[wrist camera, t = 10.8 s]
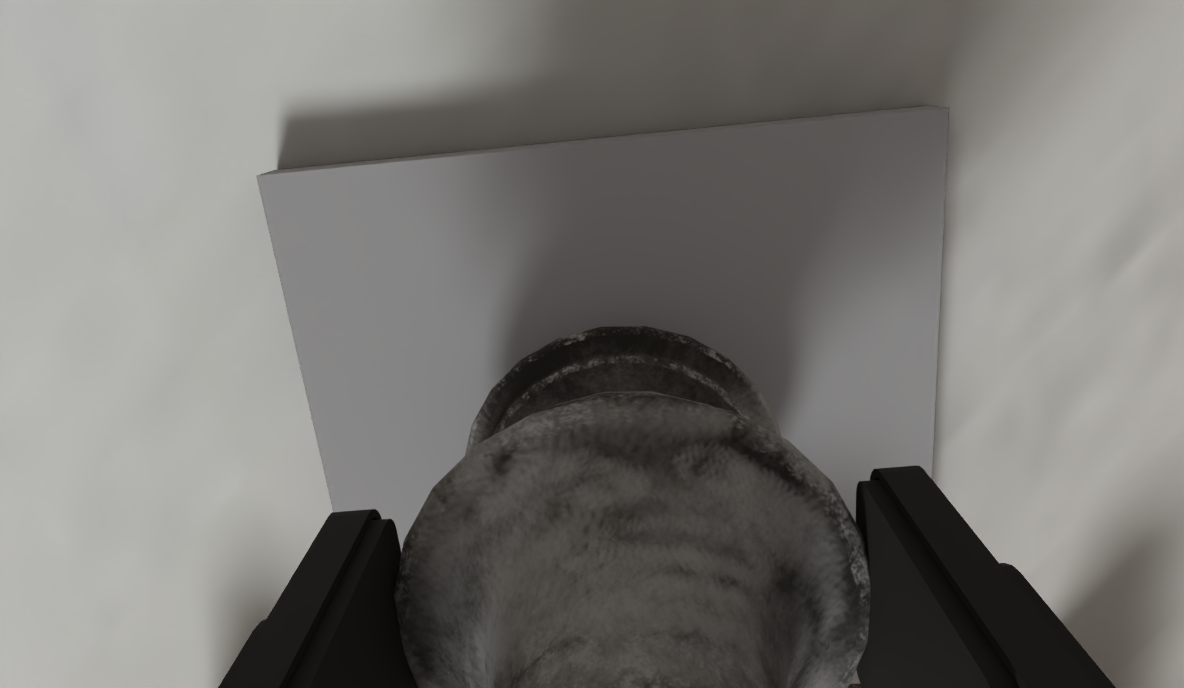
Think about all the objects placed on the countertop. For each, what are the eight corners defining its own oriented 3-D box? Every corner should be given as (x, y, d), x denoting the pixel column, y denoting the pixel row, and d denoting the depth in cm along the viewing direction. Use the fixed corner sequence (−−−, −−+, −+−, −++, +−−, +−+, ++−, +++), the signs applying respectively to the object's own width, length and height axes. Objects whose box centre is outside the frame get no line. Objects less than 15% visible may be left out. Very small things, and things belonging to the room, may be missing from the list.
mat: (275, 169, 14) (256, 175, 13) (929, 105, 13) (949, 107, 12) (390, 687, 17) (380, 716, 16) (908, 651, 17) (922, 679, 16)
